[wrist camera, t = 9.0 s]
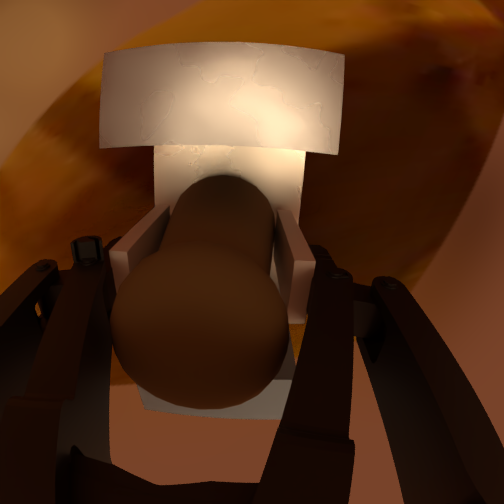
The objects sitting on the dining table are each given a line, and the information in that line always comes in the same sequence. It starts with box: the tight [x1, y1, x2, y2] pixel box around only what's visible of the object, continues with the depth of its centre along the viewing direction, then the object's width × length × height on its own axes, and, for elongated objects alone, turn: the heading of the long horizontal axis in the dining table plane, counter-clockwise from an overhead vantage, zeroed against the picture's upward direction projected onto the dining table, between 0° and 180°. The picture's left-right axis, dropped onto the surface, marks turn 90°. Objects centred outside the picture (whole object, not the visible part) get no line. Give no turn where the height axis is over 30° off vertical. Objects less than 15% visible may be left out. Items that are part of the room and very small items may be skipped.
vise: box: [99, 42, 345, 293], centre depth 15 cm, size 9×17×9 cm, turn 177°
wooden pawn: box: [110, 175, 289, 410], centre depth 12 cm, size 6×6×11 cm
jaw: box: [137, 332, 296, 419], centre depth 17 cm, size 8×4×8 cm, turn 87°
